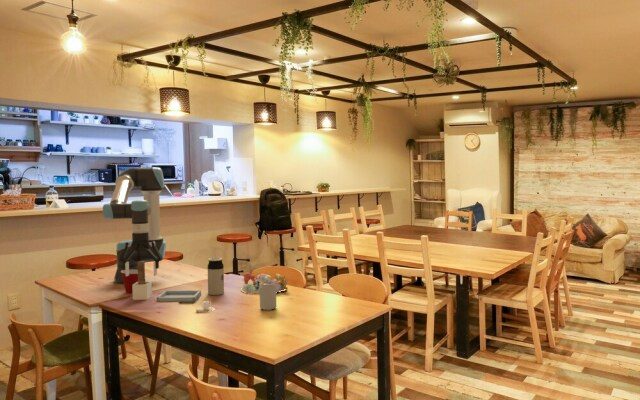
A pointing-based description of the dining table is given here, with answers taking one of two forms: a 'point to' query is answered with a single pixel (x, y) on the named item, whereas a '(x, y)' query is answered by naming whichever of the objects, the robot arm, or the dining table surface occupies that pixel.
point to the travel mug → (215, 276)
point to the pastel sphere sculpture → (261, 278)
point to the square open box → (142, 291)
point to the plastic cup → (129, 280)
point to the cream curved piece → (205, 307)
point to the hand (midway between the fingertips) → (141, 275)
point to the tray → (180, 296)
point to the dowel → (141, 272)
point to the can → (267, 295)
